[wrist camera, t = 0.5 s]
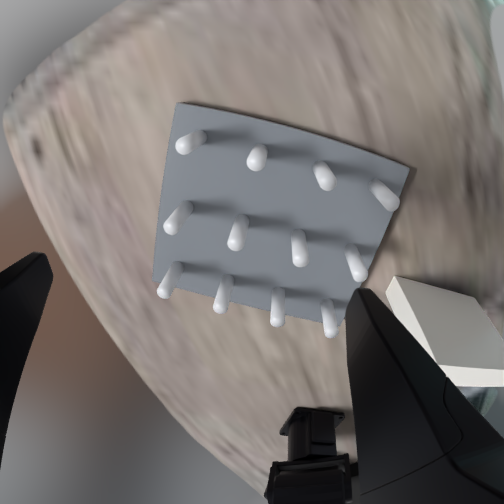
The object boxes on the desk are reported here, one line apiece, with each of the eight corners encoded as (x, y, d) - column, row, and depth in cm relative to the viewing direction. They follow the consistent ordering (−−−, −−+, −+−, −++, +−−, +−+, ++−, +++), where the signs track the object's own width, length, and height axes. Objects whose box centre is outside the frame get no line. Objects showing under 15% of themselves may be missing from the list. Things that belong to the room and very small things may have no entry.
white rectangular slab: (465, 312, 25) (508, 386, 16) (385, 292, 25) (421, 384, 16) (474, 297, 24) (521, 370, 16) (394, 275, 24) (437, 364, 15)
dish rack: (338, 318, 26) (345, 355, 22) (156, 274, 26) (136, 306, 22) (404, 165, 20) (431, 182, 16) (180, 102, 19) (156, 104, 15)
